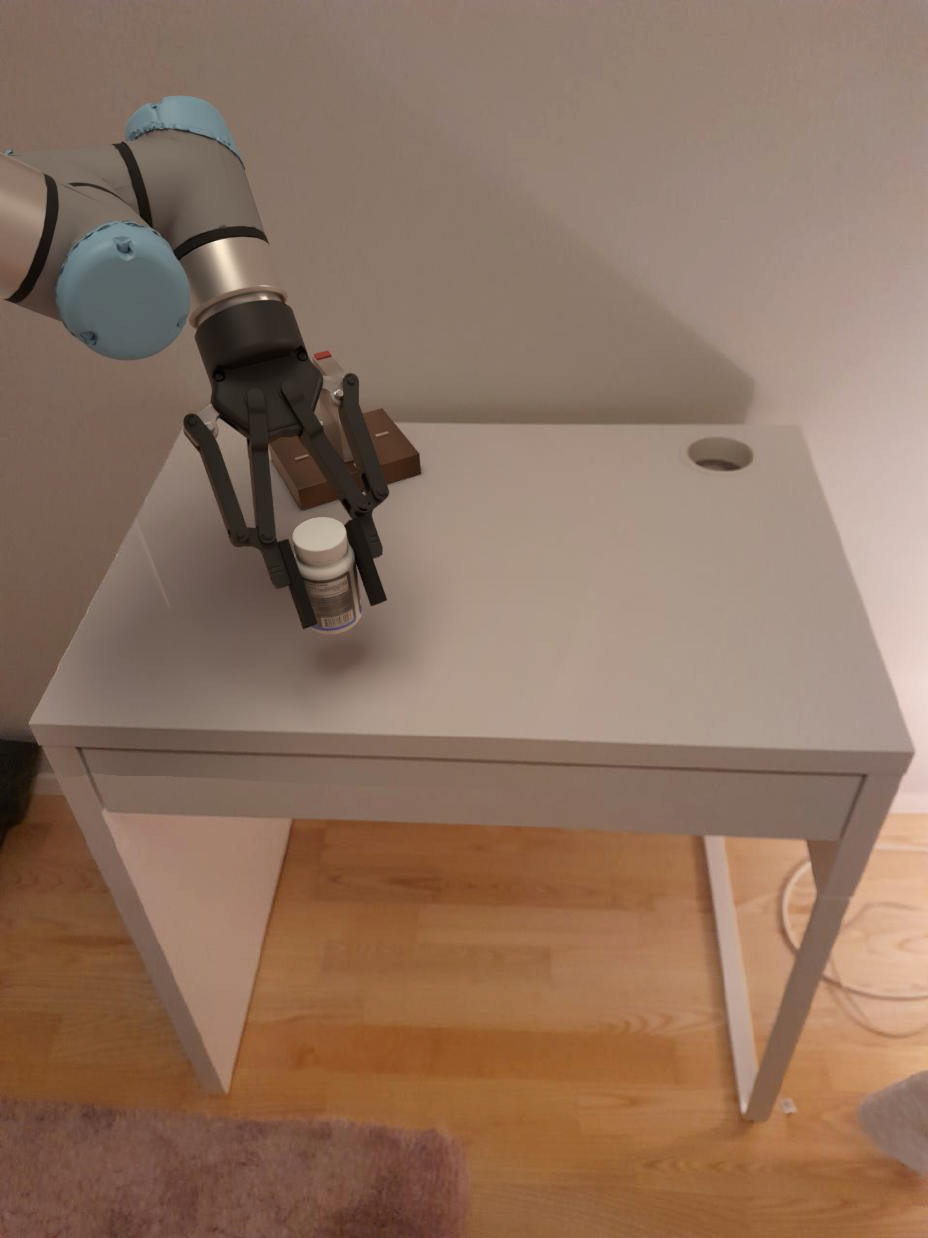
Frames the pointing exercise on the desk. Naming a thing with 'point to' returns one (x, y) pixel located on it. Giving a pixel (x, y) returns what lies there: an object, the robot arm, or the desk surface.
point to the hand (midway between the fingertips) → (344, 614)
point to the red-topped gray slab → (329, 412)
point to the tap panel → (311, 483)
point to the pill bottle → (328, 574)
